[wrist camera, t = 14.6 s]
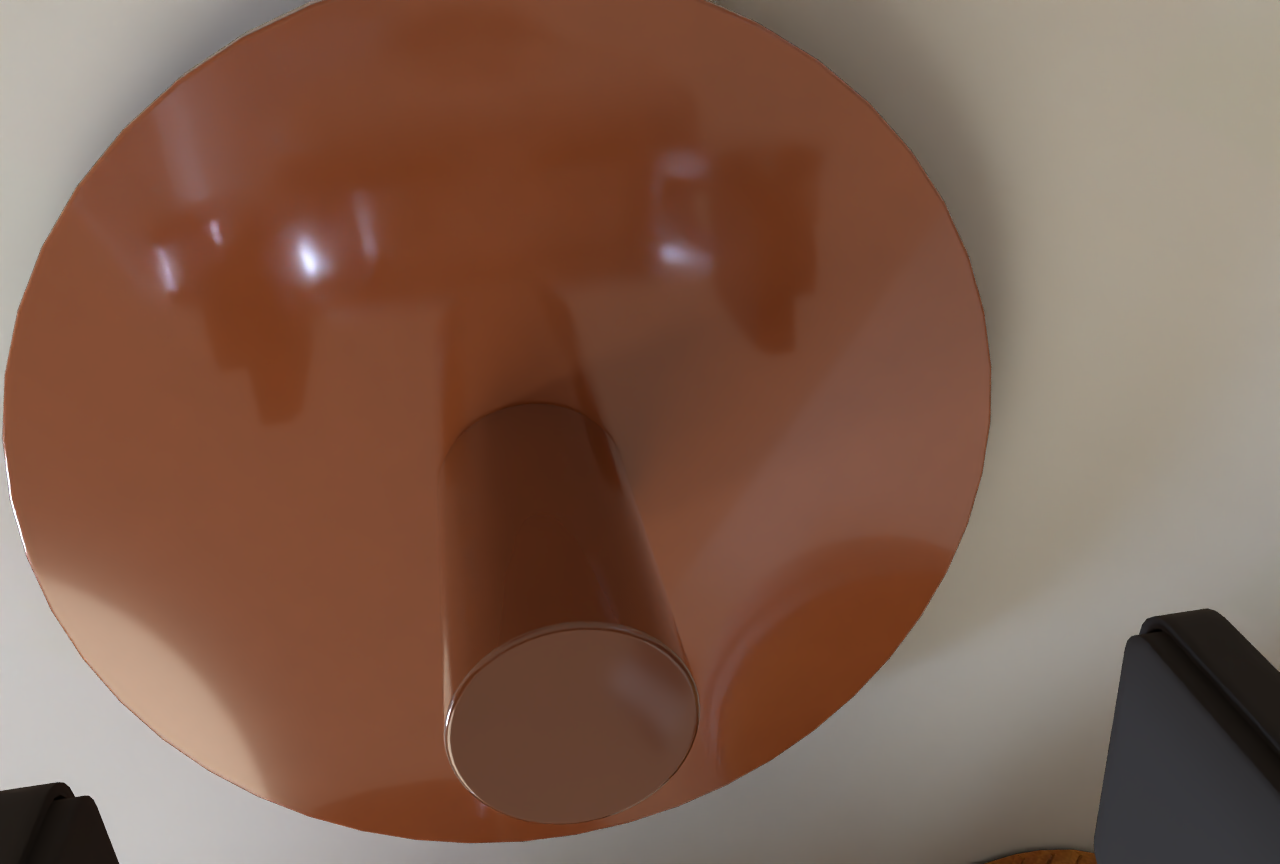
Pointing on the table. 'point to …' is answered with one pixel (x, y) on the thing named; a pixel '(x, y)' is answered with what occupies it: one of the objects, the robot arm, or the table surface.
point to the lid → (496, 409)
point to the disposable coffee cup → (1049, 857)
